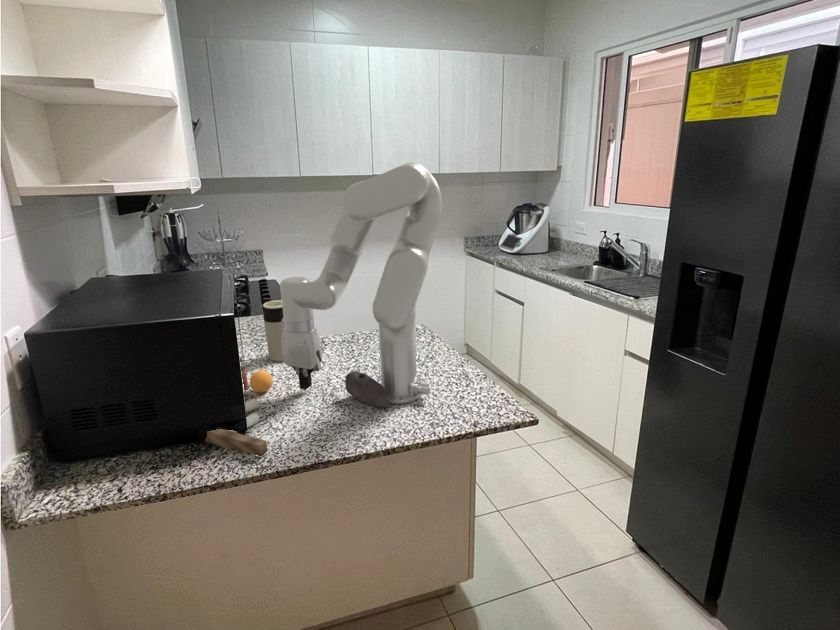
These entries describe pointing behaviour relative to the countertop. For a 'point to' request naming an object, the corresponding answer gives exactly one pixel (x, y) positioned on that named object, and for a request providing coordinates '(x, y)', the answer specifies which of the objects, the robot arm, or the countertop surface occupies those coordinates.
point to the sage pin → (250, 421)
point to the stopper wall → (237, 441)
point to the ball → (261, 381)
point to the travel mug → (274, 328)
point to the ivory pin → (252, 405)
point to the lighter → (244, 375)
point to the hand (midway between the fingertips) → (306, 387)
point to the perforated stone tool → (366, 389)
